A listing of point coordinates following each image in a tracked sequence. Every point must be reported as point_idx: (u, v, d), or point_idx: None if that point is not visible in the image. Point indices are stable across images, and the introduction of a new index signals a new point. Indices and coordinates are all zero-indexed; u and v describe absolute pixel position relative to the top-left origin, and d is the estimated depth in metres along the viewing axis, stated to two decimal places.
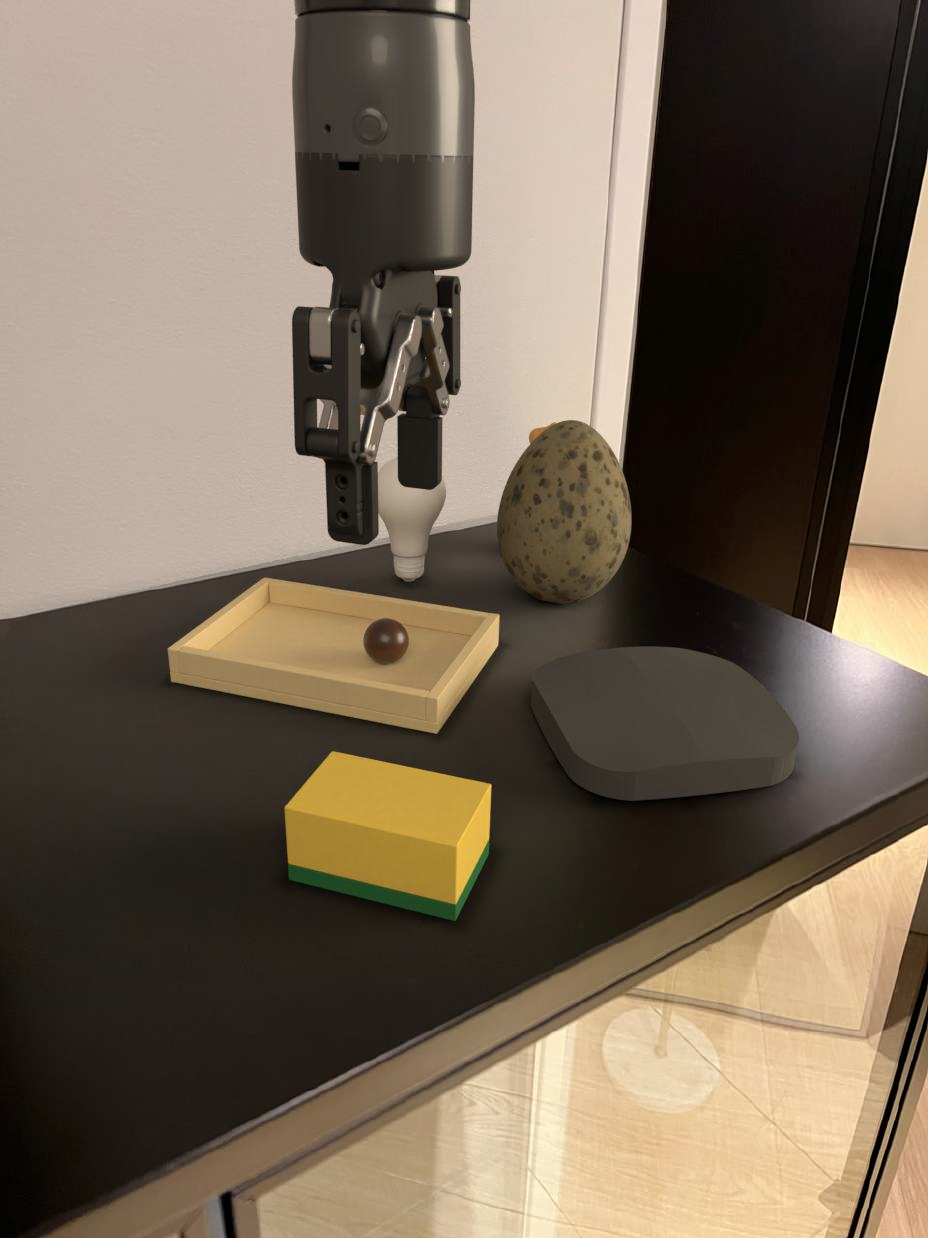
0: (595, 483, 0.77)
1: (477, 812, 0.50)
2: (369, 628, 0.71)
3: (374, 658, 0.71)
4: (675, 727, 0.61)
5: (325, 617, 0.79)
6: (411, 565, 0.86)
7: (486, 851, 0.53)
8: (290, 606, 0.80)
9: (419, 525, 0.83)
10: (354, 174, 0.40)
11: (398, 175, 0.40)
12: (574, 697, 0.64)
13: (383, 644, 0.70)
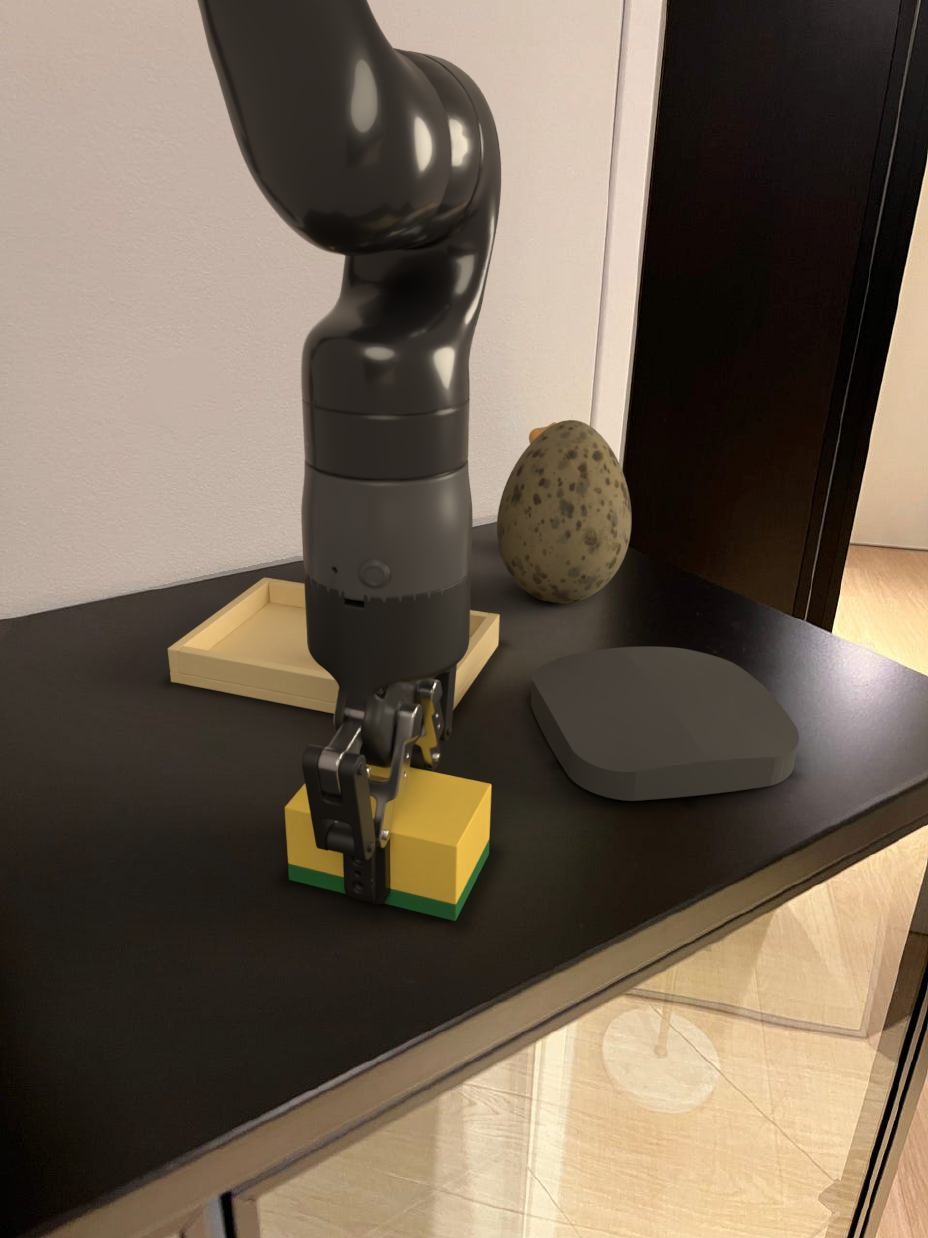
0: (595, 483, 0.77)
1: (477, 812, 0.50)
2: None
3: None
4: (675, 727, 0.61)
5: None
6: None
7: (486, 851, 0.53)
8: (290, 606, 0.80)
9: None
10: (359, 610, 0.43)
11: (400, 612, 0.43)
12: (574, 697, 0.64)
13: None
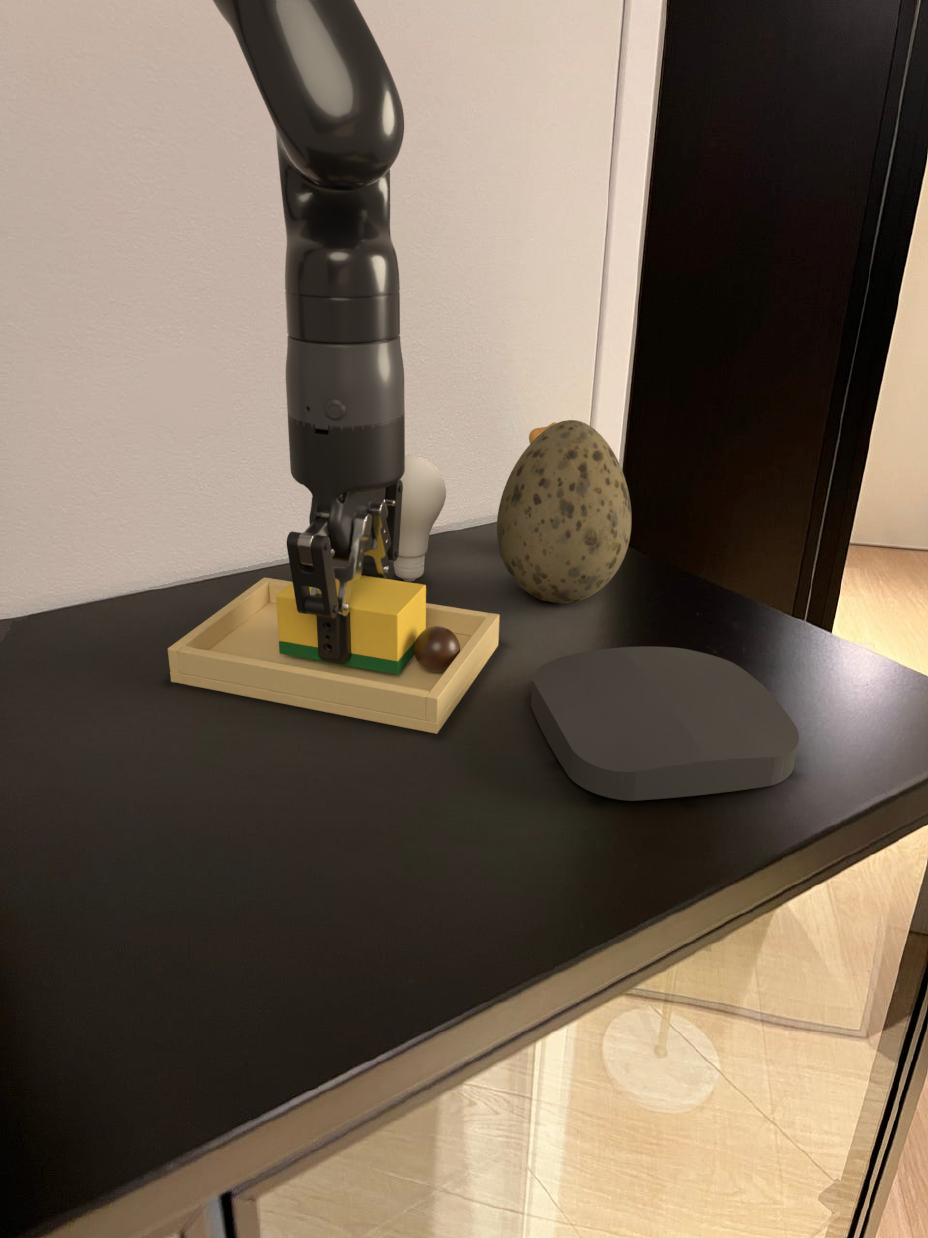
0: (595, 483, 0.77)
1: (414, 599, 0.70)
2: (454, 657, 0.70)
3: (426, 645, 0.69)
4: (675, 727, 0.61)
5: None
6: (411, 565, 0.86)
7: None
8: None
9: (419, 525, 0.83)
10: (325, 437, 0.63)
11: (353, 437, 0.63)
12: (574, 697, 0.64)
13: (431, 666, 0.69)
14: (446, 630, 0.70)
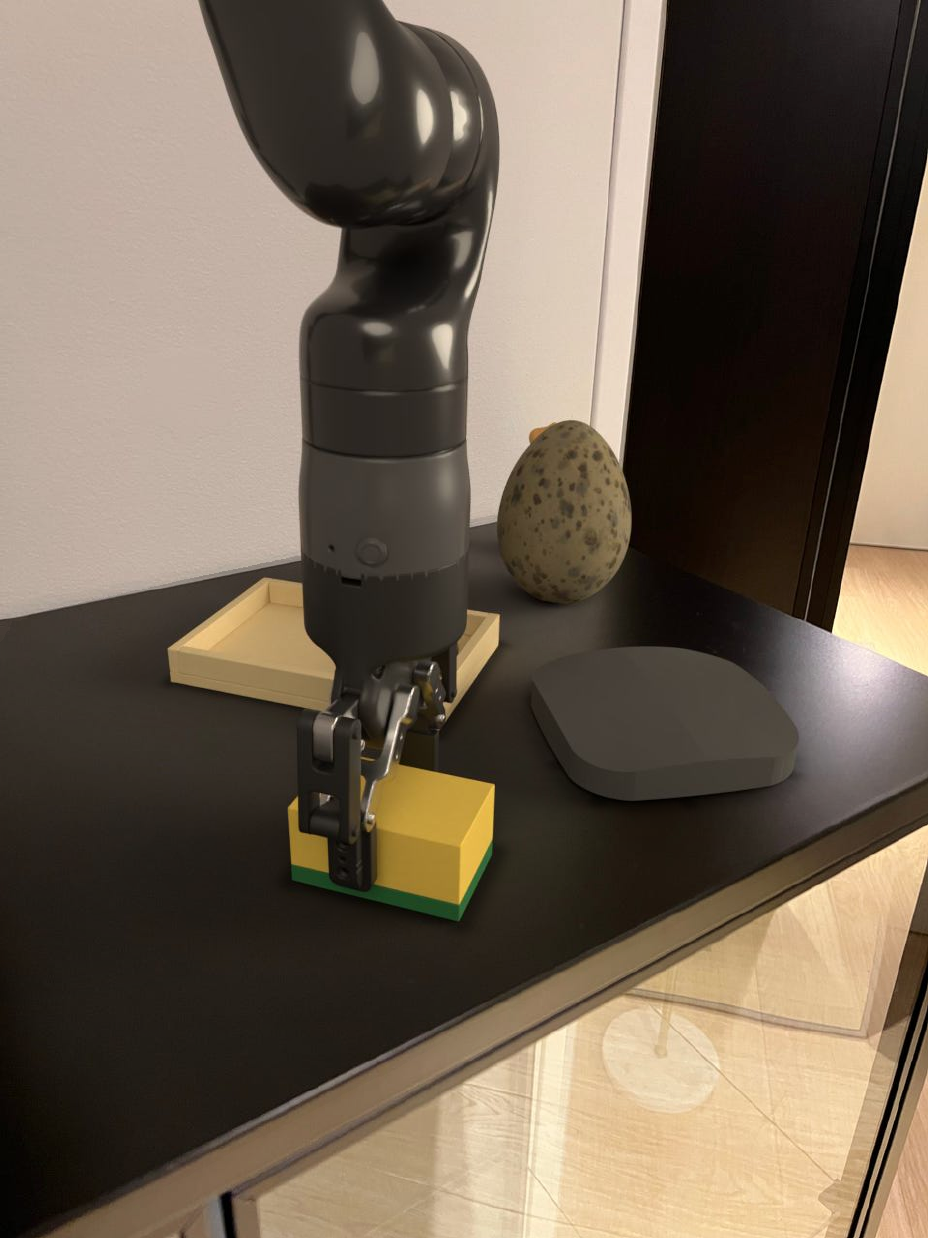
0: (595, 483, 0.77)
1: (480, 812, 0.50)
2: None
3: None
4: (675, 727, 0.61)
5: None
6: None
7: (489, 851, 0.53)
8: (290, 606, 0.80)
9: None
10: (356, 589, 0.42)
11: (397, 591, 0.42)
12: (574, 697, 0.64)
13: None
14: None
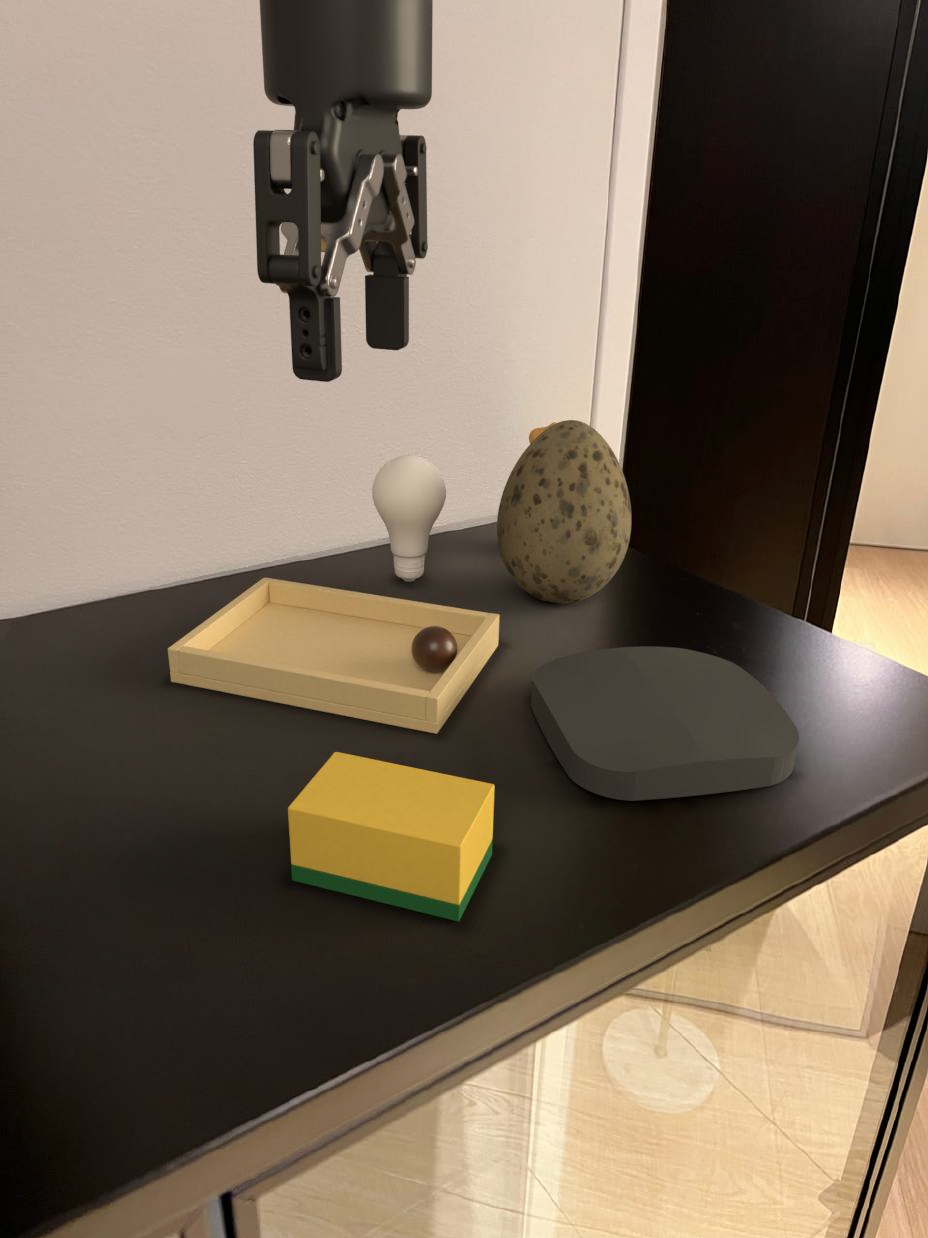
0: (595, 483, 0.77)
1: (480, 812, 0.50)
2: (451, 654, 0.69)
3: (422, 646, 0.69)
4: (675, 727, 0.61)
5: (325, 617, 0.79)
6: (411, 565, 0.86)
7: (489, 851, 0.53)
8: (290, 606, 0.80)
9: (419, 525, 0.83)
10: (314, 1, 0.41)
11: (356, 2, 0.41)
12: (574, 697, 0.64)
13: (429, 666, 0.69)
14: (440, 628, 0.70)
